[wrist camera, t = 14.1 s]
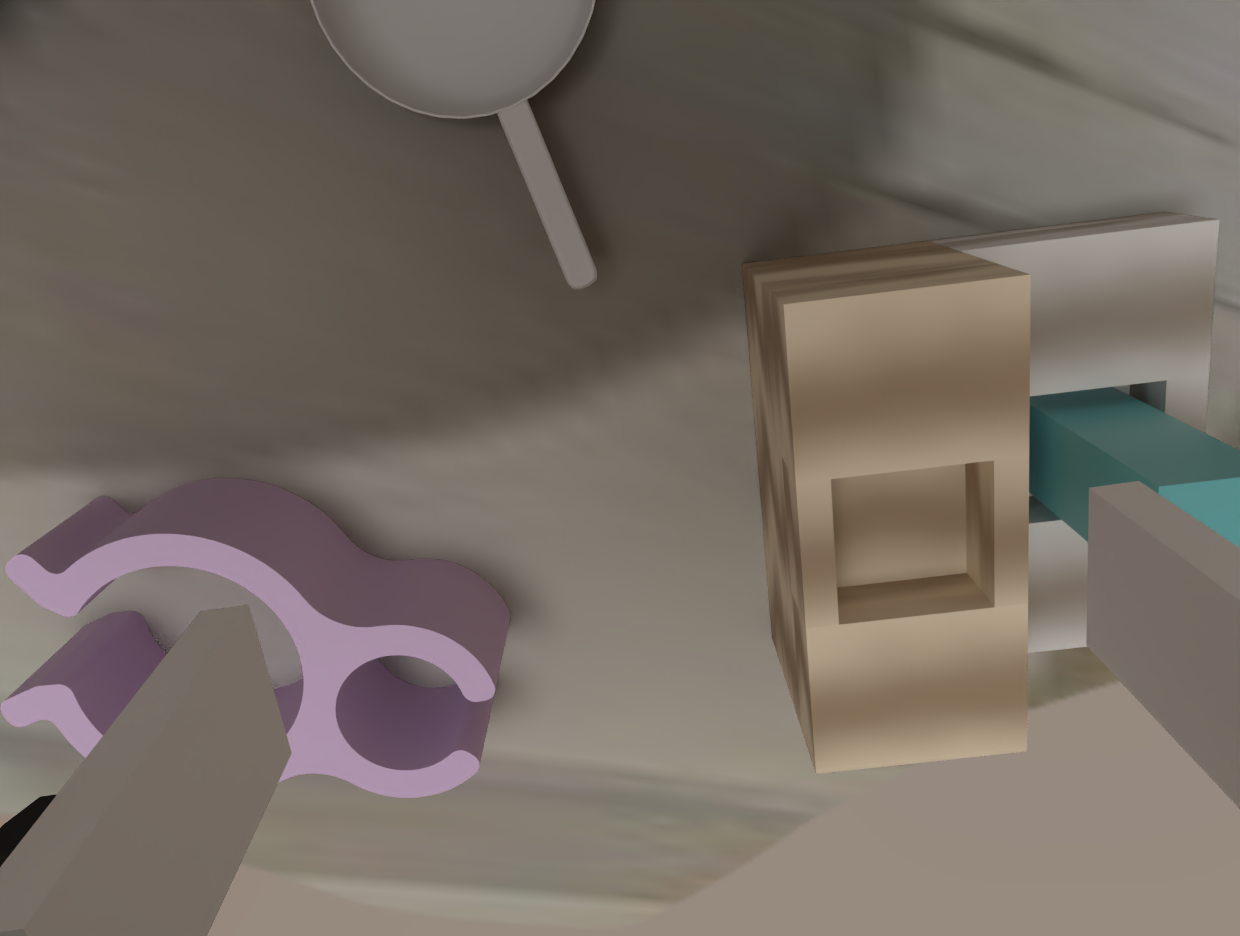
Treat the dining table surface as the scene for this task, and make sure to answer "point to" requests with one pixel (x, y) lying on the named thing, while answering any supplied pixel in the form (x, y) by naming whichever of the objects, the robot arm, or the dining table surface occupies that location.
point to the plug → (1128, 458)
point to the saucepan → (474, 78)
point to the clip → (310, 610)
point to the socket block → (947, 463)
